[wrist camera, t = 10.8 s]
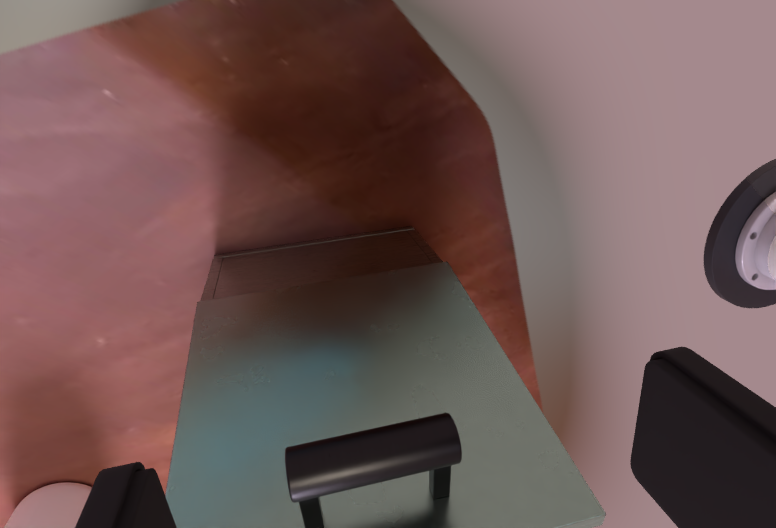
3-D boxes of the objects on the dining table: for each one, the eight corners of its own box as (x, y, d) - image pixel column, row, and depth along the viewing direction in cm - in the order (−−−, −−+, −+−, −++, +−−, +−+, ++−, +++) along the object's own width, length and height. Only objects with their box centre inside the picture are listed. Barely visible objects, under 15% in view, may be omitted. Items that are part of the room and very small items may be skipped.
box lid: (602, 525, 19) (632, 447, 16) (147, 650, 16) (93, 580, 13) (446, 270, 34) (449, 208, 31) (200, 311, 31) (179, 247, 28)
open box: (422, 390, 49) (451, 453, 41) (254, 425, 46) (251, 500, 38) (412, 225, 42) (445, 263, 34) (214, 254, 39) (199, 303, 31)
